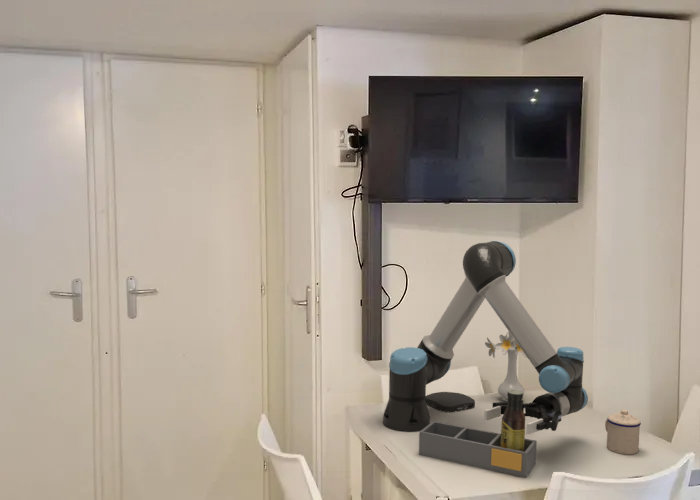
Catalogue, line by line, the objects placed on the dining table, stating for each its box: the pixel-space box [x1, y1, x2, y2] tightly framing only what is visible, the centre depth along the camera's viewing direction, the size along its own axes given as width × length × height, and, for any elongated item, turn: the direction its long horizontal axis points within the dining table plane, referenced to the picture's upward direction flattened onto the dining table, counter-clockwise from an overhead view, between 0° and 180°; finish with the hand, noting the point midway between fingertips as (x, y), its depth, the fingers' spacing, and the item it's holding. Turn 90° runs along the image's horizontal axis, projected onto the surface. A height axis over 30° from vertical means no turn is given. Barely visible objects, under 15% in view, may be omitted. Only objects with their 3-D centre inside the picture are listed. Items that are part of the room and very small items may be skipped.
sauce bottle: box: [500, 390, 526, 452], centre depth 181 cm, size 6×6×20 cm
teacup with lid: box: [604, 409, 642, 455], centre depth 197 cm, size 12×9×12 cm
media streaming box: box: [425, 391, 476, 413], centre depth 235 cm, size 15×15×3 cm
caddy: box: [418, 420, 538, 478], centre depth 186 cm, size 30×11×6 cm, turn 61°
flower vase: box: [484, 330, 527, 402], centre depth 240 cm, size 13×18×25 cm
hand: (505, 422), depth 178 cm, fingers open, 13 cm apart
